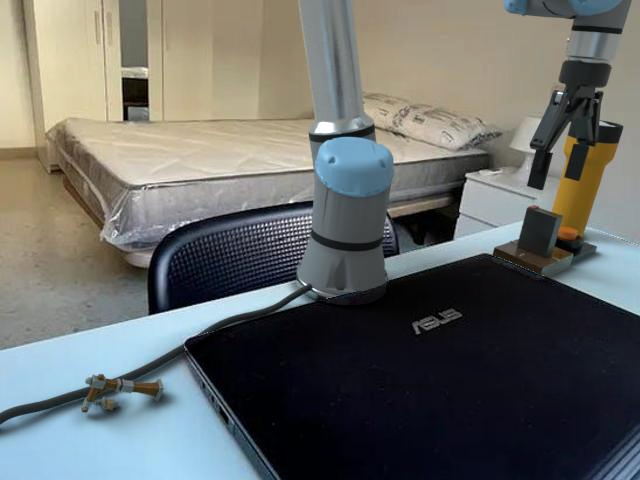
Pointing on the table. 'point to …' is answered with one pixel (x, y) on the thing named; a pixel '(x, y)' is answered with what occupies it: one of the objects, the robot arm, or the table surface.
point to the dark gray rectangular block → (539, 231)
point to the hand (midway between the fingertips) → (554, 183)
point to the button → (567, 233)
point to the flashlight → (585, 176)
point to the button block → (576, 248)
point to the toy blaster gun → (124, 386)
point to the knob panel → (534, 258)
